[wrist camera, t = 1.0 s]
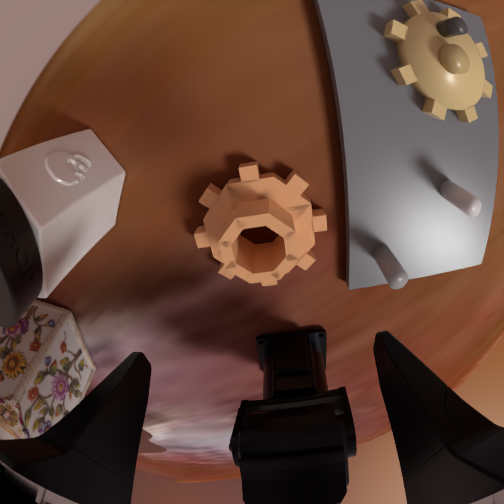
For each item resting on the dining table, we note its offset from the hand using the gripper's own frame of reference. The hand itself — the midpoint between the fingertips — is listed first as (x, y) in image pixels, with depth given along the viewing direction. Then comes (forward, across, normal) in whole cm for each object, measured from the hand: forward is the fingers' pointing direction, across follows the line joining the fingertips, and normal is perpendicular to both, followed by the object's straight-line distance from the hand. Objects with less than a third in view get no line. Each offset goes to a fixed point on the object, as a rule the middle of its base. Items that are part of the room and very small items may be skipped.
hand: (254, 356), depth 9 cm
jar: (+11, +13, -6) cm, 18 cm away
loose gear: (+11, 0, 0) cm, 11 cm away
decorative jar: (+12, +29, +10) cm, 33 cm away
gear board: (+11, -13, -5) cm, 18 cm away
